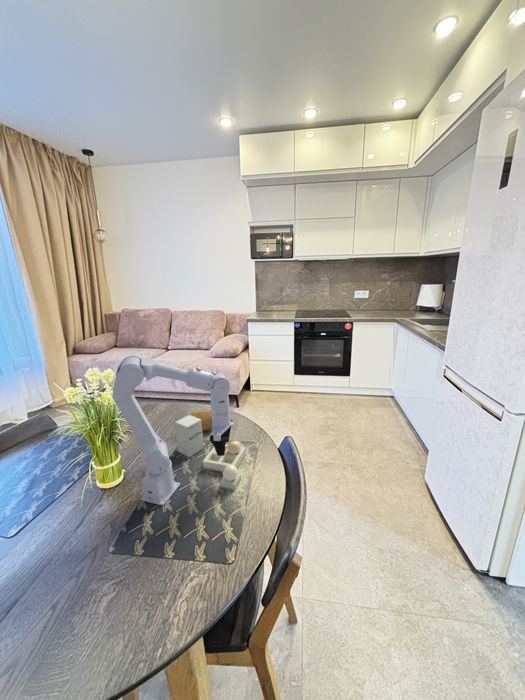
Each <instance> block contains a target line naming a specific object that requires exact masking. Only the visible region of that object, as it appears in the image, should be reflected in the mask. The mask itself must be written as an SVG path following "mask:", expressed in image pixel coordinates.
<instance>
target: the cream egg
mask: <svg viewBox="0 0 525 700" xmlns="http://www.w3.org/2000/svg"><path fill="white" fill-rule="evenodd" d="M238 474H239V471H238V469H237V468H236V467H235V466H233V465H228V466H226V467H225V468H224V470H223V472H222V476H223V477H224V478H225V479H226V480H227V481H233V480H234V479H236V477H237V475H238ZM223 477H222V478H223Z"/></svg>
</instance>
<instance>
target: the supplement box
mask: <svg viewBox="0 0 525 700" xmlns="http://www.w3.org/2000/svg"><path fill="white" fill-rule="evenodd" d="M173 423H174V429H175V430H174V431H175V440H176V449H177V452H179V453H180V454H183V456H186V457H188V458H191V457H192V456H194V455H195V454H197V453H198V452H199V451H201V450H203V449H204V448H205V447H204V436H203V431H202V421H201V419H199V418H196V417H194V416H191V415H189V414H187V415H186V416H184V417H182V418H180V419H179V420H178V419H177V420H176V421H174V422H173Z"/></svg>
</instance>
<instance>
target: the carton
mask: <svg viewBox="0 0 525 700" xmlns="http://www.w3.org/2000/svg"><path fill="white" fill-rule="evenodd" d="M228 445H229V444H226V445H225V454H224V456H218V455H217V453H216V450H215V447H214V446H213V447H212V449H211V450H210V451H209V453H208V454H207V455H206V456H205V458H203V460H202V466H203V467H202V468H203V469H204V470H208V471H209V470H210V471H215V472H219V473H223V470H224V468H225V467H226V466H228V465H233V466H235V467H236V468H237V470H238V468H239V467H240V465H241V463H242V462H243V461H244V458H245V457H246V456H247V448H246V447H245V446H241V450H240V452H239V453H238V454H236V455H234V454H230V453H229V452H228Z"/></svg>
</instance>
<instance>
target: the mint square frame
mask: <svg viewBox="0 0 525 700" xmlns="http://www.w3.org/2000/svg"><path fill="white" fill-rule="evenodd" d="M241 476H242V475H241V473H238V475H237V477H236V479H234V480H233V481H227V480H226V479H225V478H224V477H222V479H220V481H219V485H220V488H222V489H223V488H224V489H228V490H229V489H230V490H233V491H235V490H236V489H237V488H238V486H239V483H240V482H241V480H242V477H241Z"/></svg>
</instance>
